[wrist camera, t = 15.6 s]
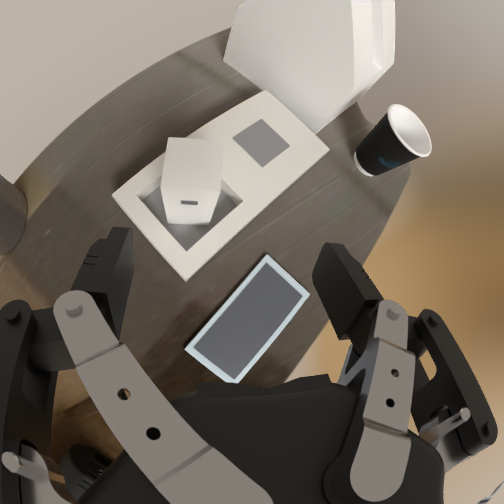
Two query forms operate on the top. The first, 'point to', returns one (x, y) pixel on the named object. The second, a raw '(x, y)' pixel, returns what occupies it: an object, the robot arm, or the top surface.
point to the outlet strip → (226, 180)
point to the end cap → (82, 468)
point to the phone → (248, 321)
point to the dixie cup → (393, 142)
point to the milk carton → (313, 52)
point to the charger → (191, 180)
